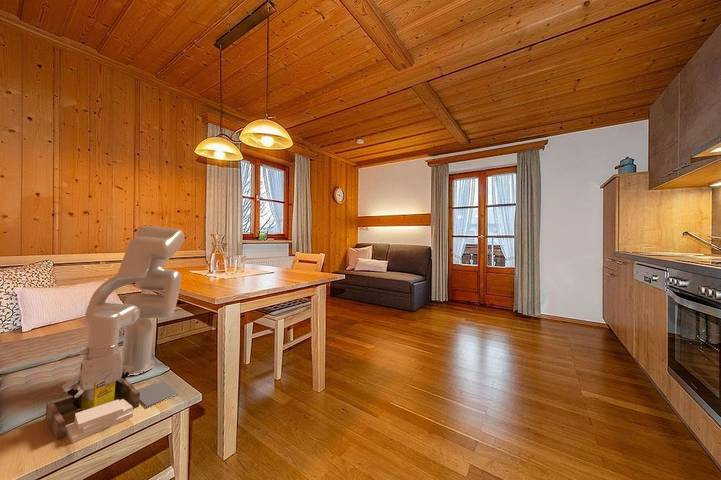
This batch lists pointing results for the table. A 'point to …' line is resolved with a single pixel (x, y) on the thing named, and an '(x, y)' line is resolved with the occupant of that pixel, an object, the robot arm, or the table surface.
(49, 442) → the table surface
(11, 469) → the table surface
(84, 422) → the offcut stack
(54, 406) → the brown wooden tray
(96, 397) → the supplement box
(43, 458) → the table surface
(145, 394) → the rubber mat
